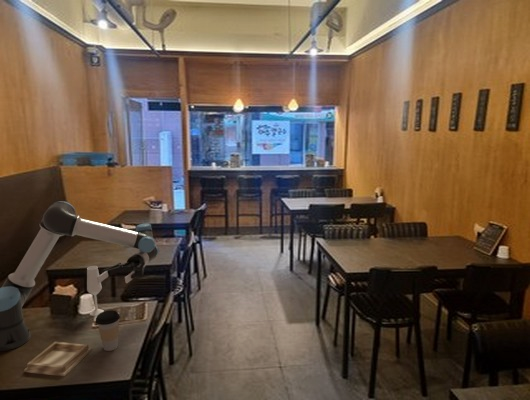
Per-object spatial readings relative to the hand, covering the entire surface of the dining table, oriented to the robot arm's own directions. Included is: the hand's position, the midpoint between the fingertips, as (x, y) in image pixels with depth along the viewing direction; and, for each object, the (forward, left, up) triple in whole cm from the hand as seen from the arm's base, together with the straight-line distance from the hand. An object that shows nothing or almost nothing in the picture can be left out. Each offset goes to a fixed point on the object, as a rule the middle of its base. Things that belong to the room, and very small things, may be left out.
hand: (111, 280), depth 163 cm
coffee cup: (+2, -8, -27) cm, 28 cm away
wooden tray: (-13, -20, -27) cm, 36 cm away
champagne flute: (-22, +19, -27) cm, 40 cm away
